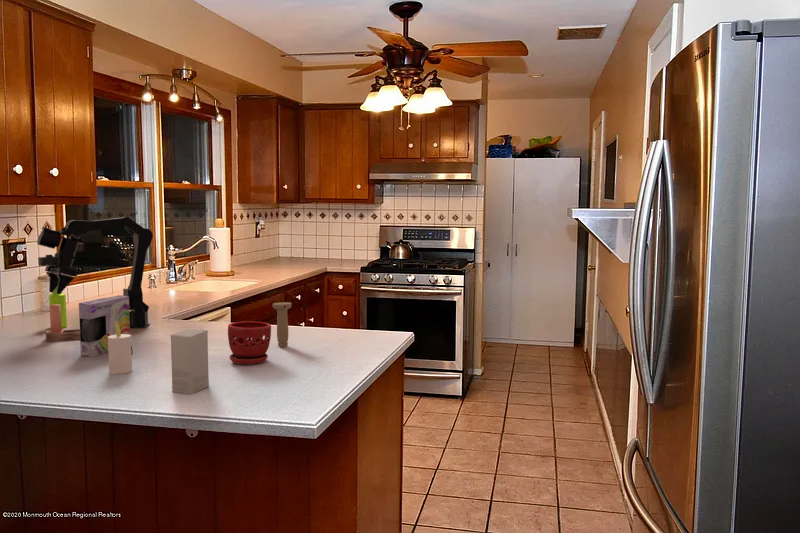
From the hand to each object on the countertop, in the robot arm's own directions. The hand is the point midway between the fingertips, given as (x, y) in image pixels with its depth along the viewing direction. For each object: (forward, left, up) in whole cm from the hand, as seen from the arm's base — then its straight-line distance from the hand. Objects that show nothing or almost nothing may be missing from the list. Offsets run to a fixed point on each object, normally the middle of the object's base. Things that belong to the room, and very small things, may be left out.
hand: (54, 292), depth 250 cm
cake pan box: (-30, +25, -16) cm, 42 cm away
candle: (-47, +52, -16) cm, 72 cm away
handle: (-88, +17, -16) cm, 91 cm away
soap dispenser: (+8, -18, -16) cm, 26 cm away
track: (-8, +4, -16) cm, 18 cm away
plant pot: (-82, +39, -16) cm, 92 cm away
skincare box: (-74, +71, -16) cm, 104 cm away
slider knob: (-3, +6, -15) cm, 16 cm away
